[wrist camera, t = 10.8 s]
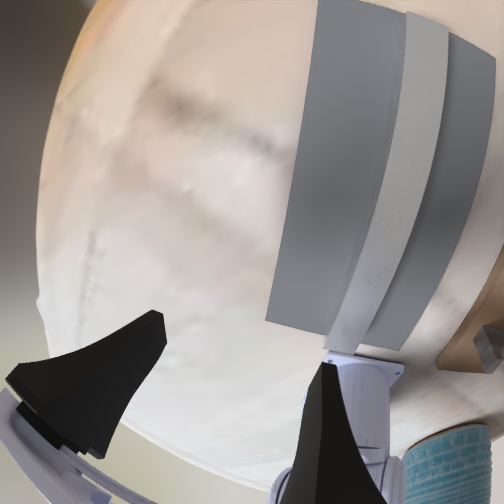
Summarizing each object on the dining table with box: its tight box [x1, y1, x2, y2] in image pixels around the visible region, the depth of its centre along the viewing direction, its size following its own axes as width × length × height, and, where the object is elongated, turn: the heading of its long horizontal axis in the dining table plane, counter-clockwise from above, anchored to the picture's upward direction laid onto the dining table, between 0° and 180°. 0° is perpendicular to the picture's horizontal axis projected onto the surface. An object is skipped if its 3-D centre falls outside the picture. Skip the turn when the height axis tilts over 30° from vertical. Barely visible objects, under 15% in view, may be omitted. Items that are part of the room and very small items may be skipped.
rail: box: [323, 11, 448, 355], centre depth 13 cm, size 22×2×2 cm, turn 173°
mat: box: [265, 0, 496, 351], centre depth 15 cm, size 24×12×1 cm, turn 173°
